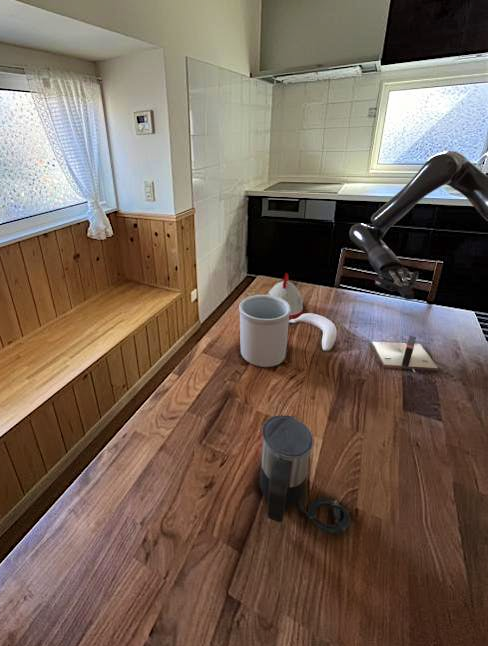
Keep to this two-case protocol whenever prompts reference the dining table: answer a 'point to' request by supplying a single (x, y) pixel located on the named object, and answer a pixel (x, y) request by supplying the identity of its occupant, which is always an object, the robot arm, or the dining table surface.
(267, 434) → the milk frother
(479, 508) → the dining table surface
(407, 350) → the dark grey rectangular block
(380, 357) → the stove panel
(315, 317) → the banana
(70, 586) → the dining table surface
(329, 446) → the dining table surface
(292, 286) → the kitchen timer
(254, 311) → the utensil holder
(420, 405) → the dining table surface
